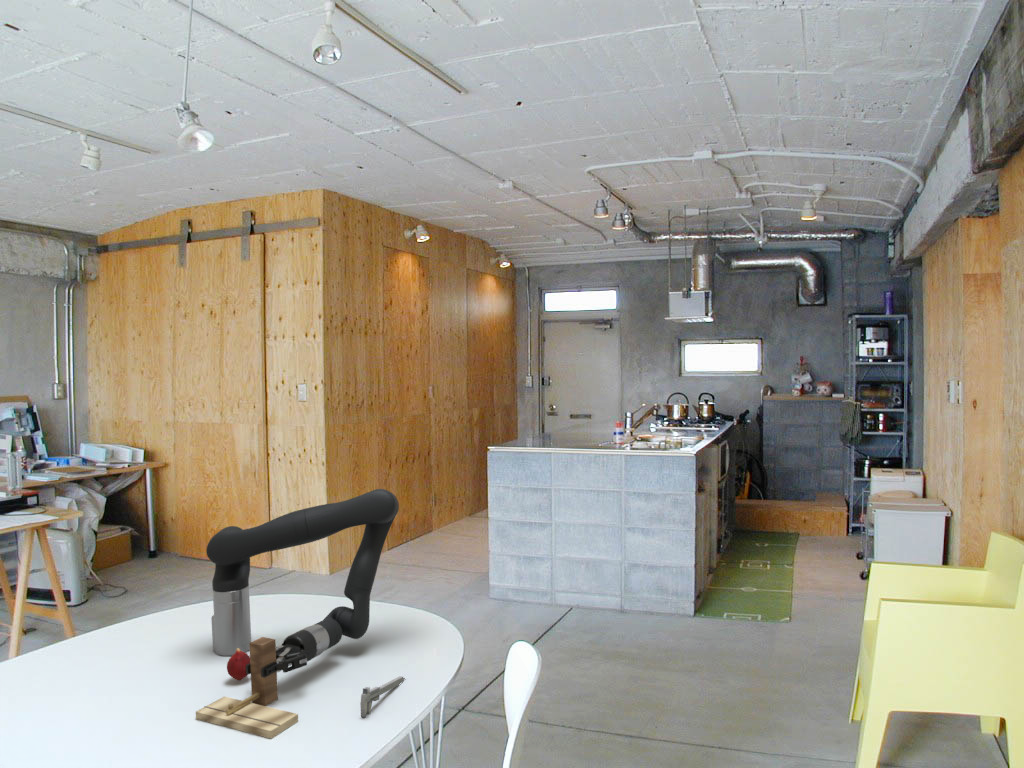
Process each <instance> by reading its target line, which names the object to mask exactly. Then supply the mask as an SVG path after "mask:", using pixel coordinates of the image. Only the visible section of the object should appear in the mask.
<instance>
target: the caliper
mask: <svg viewBox="0 0 1024 768" xmlns="http://www.w3.org/2000/svg"><path fill="white" fill-rule="evenodd" d="M404 679H405V677H404V676H397V677H395V678H393V679H391V680H390V681H388V682H386V683H384V684H382V685H380V686H375V687H372V688H370V687H369V686H366V687H365V688H362V693H361V695H360V717H361V718H365V719H366V718H367V716H369V715H371V711H372V705H373V702H376V701H379V700H380V696H382V695H384V694H385V693H386V692H389V691H391V690H393V689H394V688H396V687H398V686H400V685H401V684H402V683H403V682H404V681H405V680H406V679H405V680H404ZM402 681H403V682H402ZM401 682H402V683H401ZM400 683H401V684H400ZM399 684H400V685H399Z"/></svg>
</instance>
